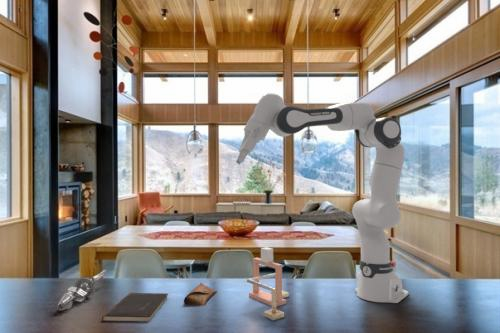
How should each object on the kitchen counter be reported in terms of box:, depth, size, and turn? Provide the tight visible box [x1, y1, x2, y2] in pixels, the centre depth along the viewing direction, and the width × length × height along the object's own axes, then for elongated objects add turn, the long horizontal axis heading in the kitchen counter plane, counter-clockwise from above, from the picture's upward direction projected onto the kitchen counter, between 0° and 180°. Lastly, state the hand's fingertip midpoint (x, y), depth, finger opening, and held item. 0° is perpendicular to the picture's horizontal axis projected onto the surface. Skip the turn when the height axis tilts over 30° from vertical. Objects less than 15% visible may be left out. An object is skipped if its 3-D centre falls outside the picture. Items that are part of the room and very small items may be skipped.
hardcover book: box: [101, 292, 169, 322], centre depth 128 cm, size 16×23×2 cm
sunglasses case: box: [183, 282, 218, 307], centre depth 139 cm, size 18×7×7 cm, turn 170°
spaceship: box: [56, 269, 107, 311], centre depth 139 cm, size 8×35×8 cm
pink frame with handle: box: [248, 246, 287, 308], centre depth 137 cm, size 6×15×20 cm, turn 38°
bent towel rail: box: [246, 272, 290, 321], centre depth 131 cm, size 21×19×10 cm
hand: (239, 162), depth 134 cm, fingers open, 8 cm apart
